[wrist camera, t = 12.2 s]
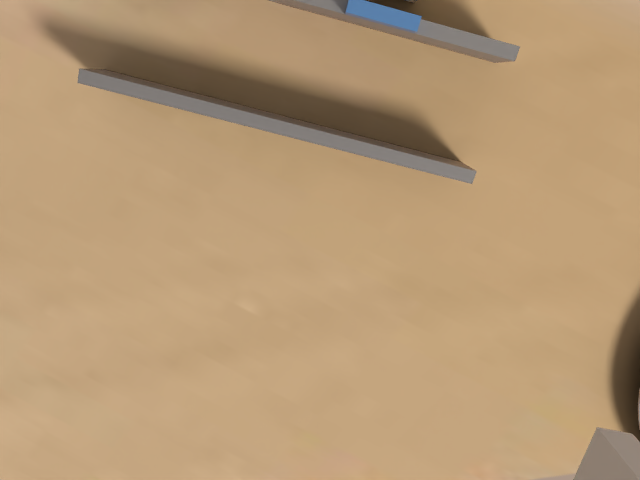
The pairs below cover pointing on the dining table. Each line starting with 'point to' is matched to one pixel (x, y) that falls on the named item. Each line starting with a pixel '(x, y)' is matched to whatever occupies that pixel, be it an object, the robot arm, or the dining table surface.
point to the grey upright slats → (347, 6)
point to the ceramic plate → (639, 408)
